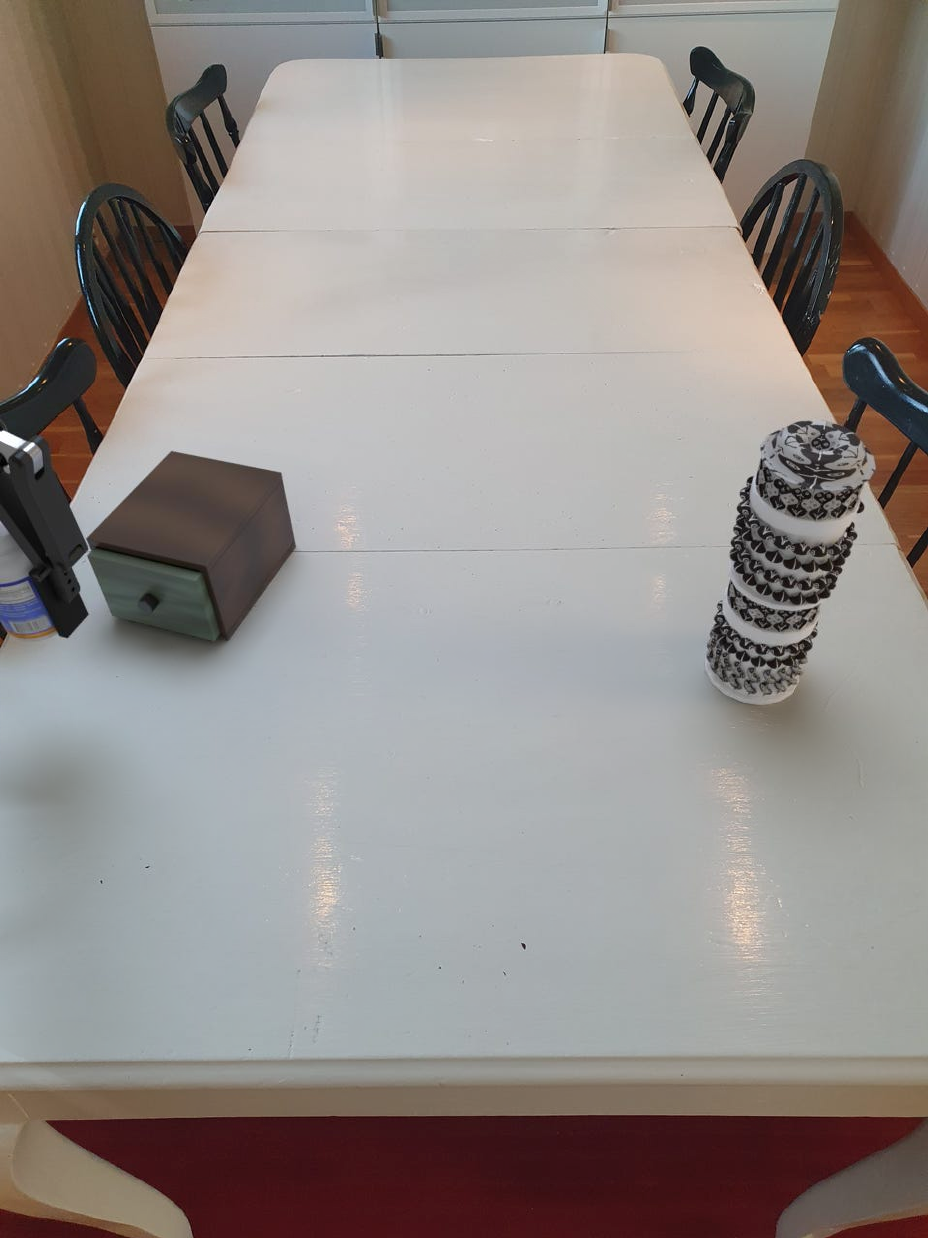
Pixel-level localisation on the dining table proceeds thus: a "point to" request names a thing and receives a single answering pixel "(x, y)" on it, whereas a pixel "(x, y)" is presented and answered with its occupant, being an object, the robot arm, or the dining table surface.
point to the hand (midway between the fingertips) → (41, 616)
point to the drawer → (155, 593)
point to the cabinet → (207, 528)
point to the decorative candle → (786, 557)
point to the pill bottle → (20, 595)
